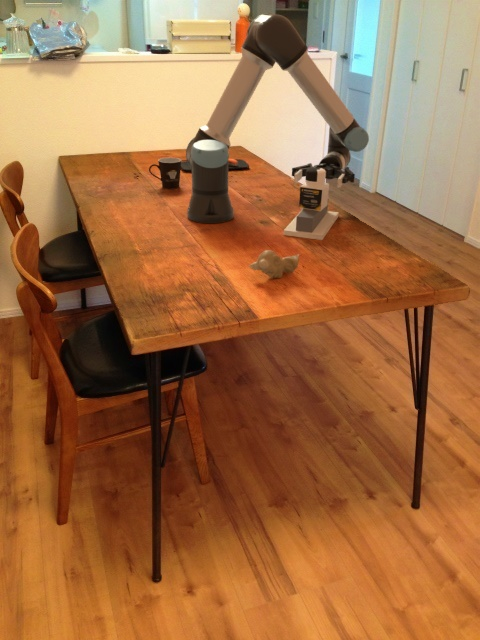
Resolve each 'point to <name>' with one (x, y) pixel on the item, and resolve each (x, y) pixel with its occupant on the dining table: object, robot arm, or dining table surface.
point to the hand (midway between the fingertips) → (316, 180)
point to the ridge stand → (311, 224)
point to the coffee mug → (169, 172)
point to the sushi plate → (231, 164)
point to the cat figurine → (275, 264)
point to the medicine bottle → (314, 190)
